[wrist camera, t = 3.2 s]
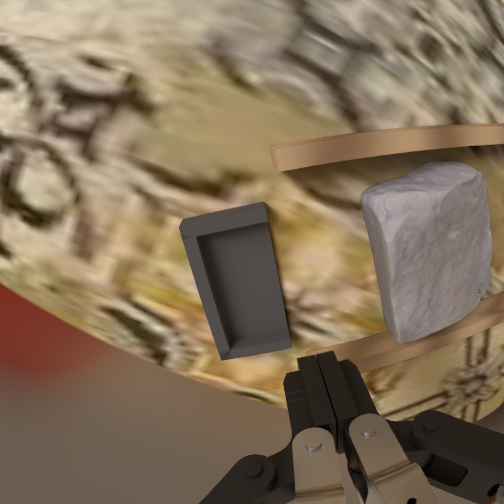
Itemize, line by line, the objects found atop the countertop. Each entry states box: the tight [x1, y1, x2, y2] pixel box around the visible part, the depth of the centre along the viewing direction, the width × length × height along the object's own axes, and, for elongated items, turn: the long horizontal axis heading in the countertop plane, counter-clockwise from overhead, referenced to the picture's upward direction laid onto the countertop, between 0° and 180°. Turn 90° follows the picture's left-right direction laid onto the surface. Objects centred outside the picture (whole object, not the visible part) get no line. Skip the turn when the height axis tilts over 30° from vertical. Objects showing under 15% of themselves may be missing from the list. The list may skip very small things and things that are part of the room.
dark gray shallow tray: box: [179, 202, 292, 360], centre depth 21 cm, size 5×10×2 cm, turn 12°
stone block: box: [361, 160, 493, 344], centre depth 20 cm, size 12×5×10 cm
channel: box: [270, 124, 504, 373], centre depth 20 cm, size 22×16×2 cm
